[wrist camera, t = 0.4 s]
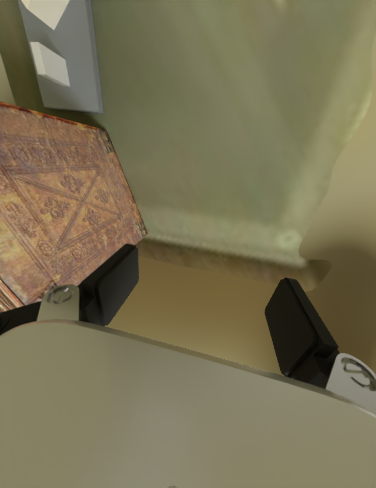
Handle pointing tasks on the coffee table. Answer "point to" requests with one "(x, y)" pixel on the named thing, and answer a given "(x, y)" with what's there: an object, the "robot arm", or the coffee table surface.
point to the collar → (47, 10)
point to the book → (58, 204)
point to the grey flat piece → (66, 58)
